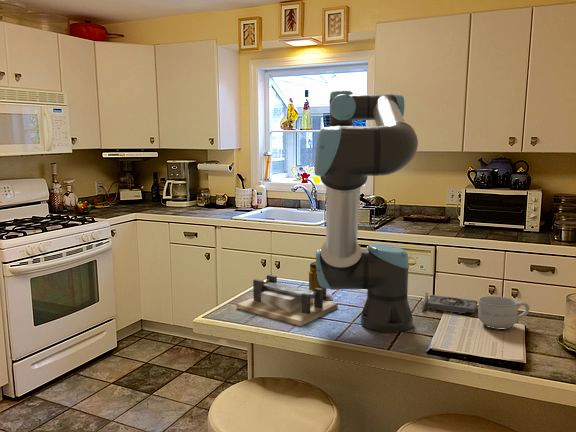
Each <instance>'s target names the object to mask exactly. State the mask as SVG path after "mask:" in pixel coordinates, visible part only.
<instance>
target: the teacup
mask: <svg viewBox="0 0 576 432" xmlns="http://www.w3.org/2000/svg"><path fill="white" fill-rule="evenodd" d="M477 302H478V304H477V309H478V310H477V311H478V318H479V319H478V320H479V321H480V322H481V323H482V324H483V325H484V324H485V325H487V326H490V327H494V328H509V327H510V328H511V327H513V326H514V325H515V324H516V322H518V321H519V320H520V319H522V318H523V317H525V316H527V315H528V314H529V313H530V306H529V305H530V304H528V303H527V302H524V301H517V300H516V299H513V298H510V297H505V296H499V295H498V296H497V295H489V296H481V297H478V299H477ZM523 306H524V307H525V310H524V311H523V312H522V313H520V314H518V311H519V308H521V307H523ZM485 325H484V326H485ZM510 328H509V329H510Z"/></svg>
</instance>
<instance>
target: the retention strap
mask: <svg viewBox="0 0 576 432" xmlns="http://www.w3.org/2000/svg"><path fill="white" fill-rule="evenodd" d="M263 281H264V288H267V289H271V290H275V291H279V292H283V293H287V294H291V295H295V296H299V297H302V293H307V294H310V299H311V298H313V297H316V296H318V295H319V293H318V292H317V291H316V292H314V291H310V290H309V289H307V290H305V289H306V288H303V289H301V288H302V287H298V288H297V286H294V287H293V285H288V284H285V283H280V282H277V283H276V282H272V281H271V280H270V279H268V280H267V279H266V280H263ZM284 284H285V285H284Z"/></svg>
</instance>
